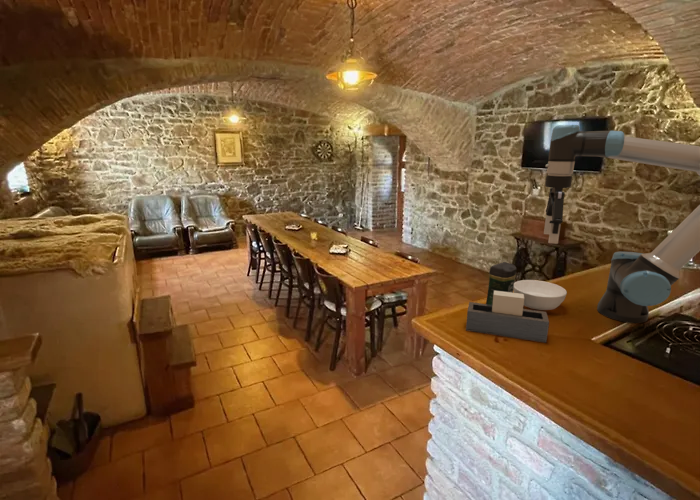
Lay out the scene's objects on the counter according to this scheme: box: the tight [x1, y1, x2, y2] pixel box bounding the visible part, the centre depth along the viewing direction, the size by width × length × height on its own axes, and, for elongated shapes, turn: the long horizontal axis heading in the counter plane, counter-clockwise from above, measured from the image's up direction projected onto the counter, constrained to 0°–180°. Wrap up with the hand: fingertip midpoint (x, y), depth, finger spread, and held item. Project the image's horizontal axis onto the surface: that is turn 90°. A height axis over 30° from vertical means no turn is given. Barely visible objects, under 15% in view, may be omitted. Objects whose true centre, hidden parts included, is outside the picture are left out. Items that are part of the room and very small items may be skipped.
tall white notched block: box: [492, 291, 524, 316], centre depth 124 cm, size 9×4×12 cm, turn 69°
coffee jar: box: [485, 261, 517, 305], centre depth 137 cm, size 10×8×19 cm
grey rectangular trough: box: [465, 301, 550, 344], centre depth 125 cm, size 24×8×7 cm, turn 69°
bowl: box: [513, 279, 568, 311], centre depth 144 cm, size 18×18×7 cm
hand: (550, 238), depth 129 cm, fingers open, 13 cm apart
